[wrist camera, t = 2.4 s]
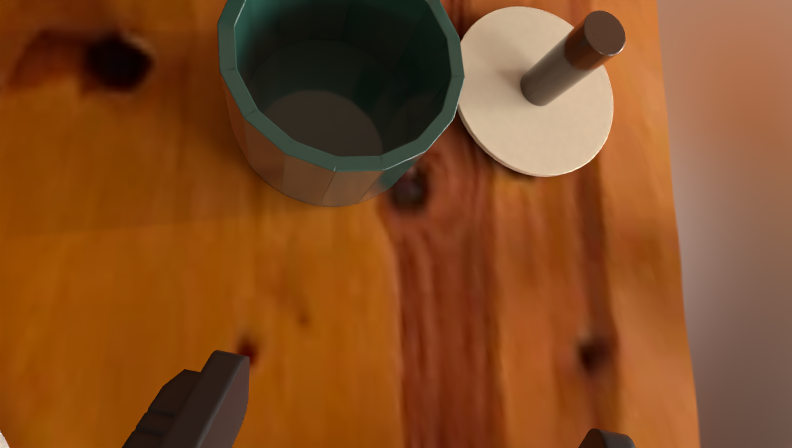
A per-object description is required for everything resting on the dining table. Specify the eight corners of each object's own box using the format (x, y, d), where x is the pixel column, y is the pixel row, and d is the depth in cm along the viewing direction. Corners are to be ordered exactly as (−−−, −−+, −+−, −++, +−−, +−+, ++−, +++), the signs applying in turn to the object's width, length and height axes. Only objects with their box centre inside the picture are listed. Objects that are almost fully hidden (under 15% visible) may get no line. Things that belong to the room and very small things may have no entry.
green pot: (228, 28, 31) (212, -72, 23) (407, 37, 34) (448, -46, 26) (237, 211, 29) (224, 174, 21) (425, 202, 32) (477, 167, 24)
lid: (438, 8, 35) (488, -82, 27) (589, 20, 39) (673, -56, 31) (459, 182, 33) (521, 141, 25) (617, 176, 37) (715, 139, 29)
